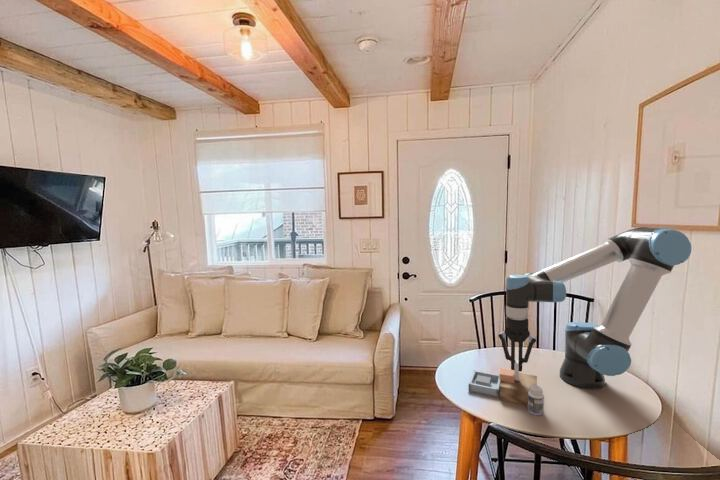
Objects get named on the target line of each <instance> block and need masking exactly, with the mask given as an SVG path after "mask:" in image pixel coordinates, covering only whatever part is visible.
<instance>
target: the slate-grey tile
mask: <svg viewBox="0 0 720 480" xmlns="http://www.w3.org/2000/svg"><path fill="white" fill-rule="evenodd" d="M476 384H478V385H483V386H487V387H490V385H491V377H486V376H480V375H477V378H476Z"/></svg>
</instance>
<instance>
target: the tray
mask: <svg viewBox="0 0 720 480" xmlns="http://www.w3.org/2000/svg"><path fill="white" fill-rule="evenodd" d="M477 375H480V376H486V377H491V385H490V387H487V386H483V385H478V384H476V378H477ZM500 382H501V380H500V374H496V373H495V374H494V373H489V372H486V371H485V372H484V371H481V370H472V373H471V377H470V379H469V381H468V392H471V393H475V394H480V395H484V396H490V397H493V398H500Z"/></svg>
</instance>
